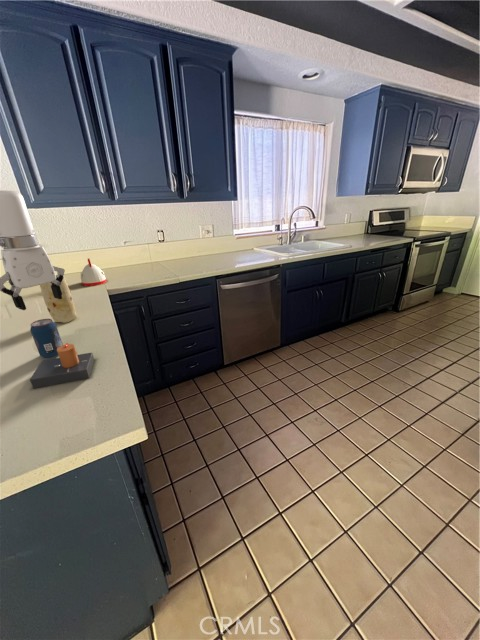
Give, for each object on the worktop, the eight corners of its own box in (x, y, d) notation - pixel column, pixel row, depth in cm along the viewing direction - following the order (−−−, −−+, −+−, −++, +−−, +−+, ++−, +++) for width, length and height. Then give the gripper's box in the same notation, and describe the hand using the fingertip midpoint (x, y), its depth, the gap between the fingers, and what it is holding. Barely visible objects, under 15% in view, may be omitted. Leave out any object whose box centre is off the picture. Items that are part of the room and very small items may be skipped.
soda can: (41, 352, 91) (29, 320, 86) (65, 347, 94) (54, 316, 89) (39, 362, 85) (26, 328, 80) (64, 356, 88) (53, 323, 83)
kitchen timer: (104, 278, 177) (99, 255, 170) (108, 283, 166) (102, 259, 160) (81, 281, 170) (75, 258, 164) (83, 287, 159) (76, 262, 153)
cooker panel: (33, 388, 73) (29, 379, 72) (44, 368, 82) (41, 360, 80) (89, 378, 77) (86, 369, 76) (94, 360, 86) (92, 351, 84)
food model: (78, 315, 119) (65, 272, 111) (77, 321, 114) (64, 276, 106) (52, 320, 115) (37, 275, 107) (51, 326, 110) (34, 279, 102)
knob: (77, 366, 77) (71, 349, 75) (60, 368, 76) (54, 351, 74) (80, 358, 81) (75, 341, 79) (64, 361, 80) (58, 344, 78)
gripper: (-15, 248, 61) (13, 316, 68) (61, 239, 75) (78, 296, 82) (-29, 246, 64) (-1, 311, 71) (47, 238, 78) (63, 293, 85)
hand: (41, 303), depth 77 cm, fingers open, 9 cm apart
